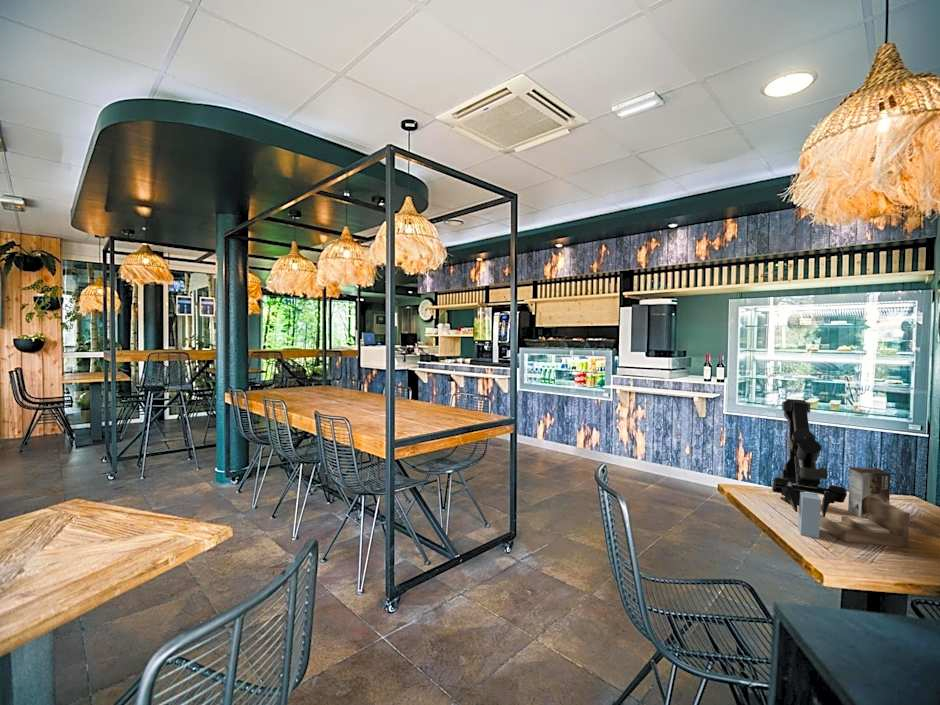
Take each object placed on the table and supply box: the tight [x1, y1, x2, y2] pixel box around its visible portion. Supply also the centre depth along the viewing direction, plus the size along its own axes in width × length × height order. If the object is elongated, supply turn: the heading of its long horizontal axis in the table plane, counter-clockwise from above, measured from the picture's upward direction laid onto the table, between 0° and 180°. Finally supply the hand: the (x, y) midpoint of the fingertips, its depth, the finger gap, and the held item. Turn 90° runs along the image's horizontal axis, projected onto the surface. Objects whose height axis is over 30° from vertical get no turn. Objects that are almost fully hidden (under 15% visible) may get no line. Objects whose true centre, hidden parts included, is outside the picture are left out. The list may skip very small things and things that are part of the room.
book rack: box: [820, 497, 911, 548], centre depth 140 cm, size 14×17×10 cm
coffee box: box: [847, 466, 891, 519], centre depth 157 cm, size 9×6×16 cm
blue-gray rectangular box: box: [797, 492, 822, 539], centre depth 140 cm, size 6×4×12 cm
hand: (810, 513), depth 139 cm, fingers open, 7 cm apart
